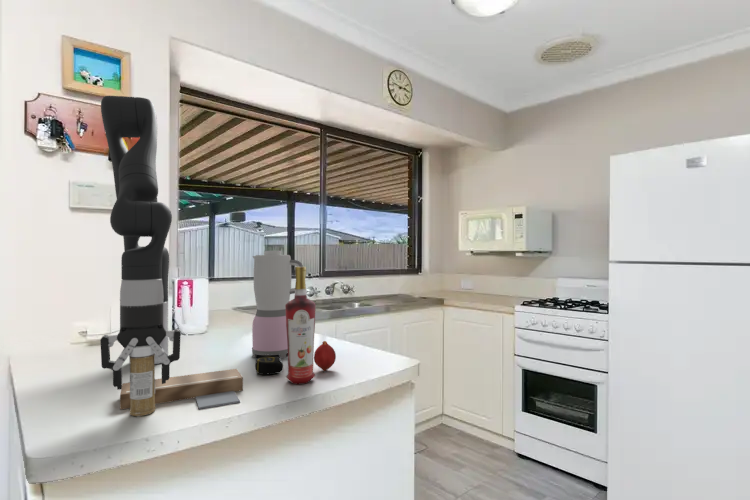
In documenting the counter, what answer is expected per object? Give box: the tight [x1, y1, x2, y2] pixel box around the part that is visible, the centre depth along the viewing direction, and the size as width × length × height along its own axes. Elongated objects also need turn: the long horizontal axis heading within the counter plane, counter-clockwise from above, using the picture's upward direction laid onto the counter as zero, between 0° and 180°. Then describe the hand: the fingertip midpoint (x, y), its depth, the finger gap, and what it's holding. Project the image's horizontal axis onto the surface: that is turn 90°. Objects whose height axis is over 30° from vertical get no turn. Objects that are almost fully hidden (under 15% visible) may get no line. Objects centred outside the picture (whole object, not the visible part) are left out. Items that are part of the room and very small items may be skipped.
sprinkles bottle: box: [128, 345, 157, 417], centre depth 83 cm, size 5×5×14 cm
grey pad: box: [195, 391, 241, 410], centre depth 89 cm, size 8×7×1 cm
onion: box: [313, 340, 337, 372], centre depth 111 cm, size 6×6×8 cm
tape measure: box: [254, 356, 284, 375], centre depth 110 cm, size 7×7×4 cm
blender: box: [251, 250, 304, 359], centre depth 129 cm, size 16×12×32 cm
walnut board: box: [119, 368, 244, 410], centre depth 93 cm, size 24×8×3 cm, turn 118°
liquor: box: [285, 266, 317, 385], centre depth 102 cm, size 7×7×28 cm
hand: (142, 385), depth 83 cm, fingers open, 7 cm apart
